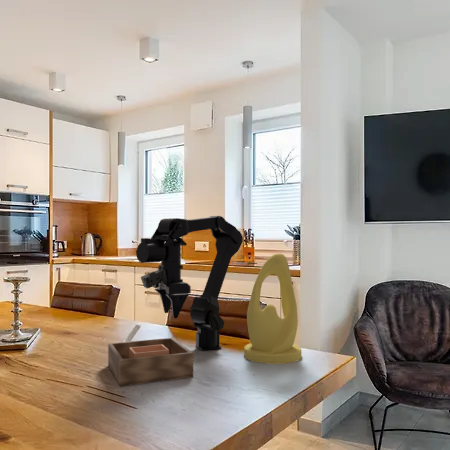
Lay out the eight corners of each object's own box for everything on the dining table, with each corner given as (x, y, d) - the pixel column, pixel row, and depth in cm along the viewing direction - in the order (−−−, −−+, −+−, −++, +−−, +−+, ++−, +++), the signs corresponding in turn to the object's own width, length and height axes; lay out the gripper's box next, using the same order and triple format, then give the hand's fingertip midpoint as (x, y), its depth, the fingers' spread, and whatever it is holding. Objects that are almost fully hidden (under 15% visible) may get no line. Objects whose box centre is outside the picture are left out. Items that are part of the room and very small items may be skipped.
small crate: (162, 362, 122) (162, 344, 122) (169, 369, 116) (169, 349, 116) (128, 366, 118) (129, 347, 118) (134, 373, 112) (134, 353, 112)
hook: (155, 341, 128) (135, 328, 127) (131, 374, 129) (110, 361, 128) (157, 330, 135) (137, 318, 134) (134, 361, 136) (114, 349, 135)
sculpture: (263, 366, 121) (263, 254, 122) (234, 352, 136) (234, 252, 137) (313, 359, 129) (312, 253, 130) (280, 346, 144) (279, 251, 144)
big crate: (172, 358, 129) (172, 337, 129) (193, 377, 112) (193, 352, 112) (108, 365, 122) (108, 343, 122) (119, 386, 105) (120, 360, 105)
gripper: (136, 260, 137) (136, 312, 136) (151, 264, 120) (151, 323, 119) (172, 259, 141) (171, 309, 141) (191, 263, 124) (191, 320, 124)
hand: (170, 315), depth 131 cm, fingers open, 9 cm apart
